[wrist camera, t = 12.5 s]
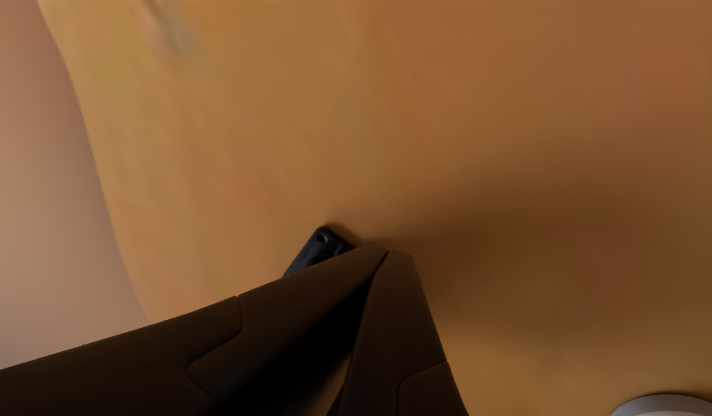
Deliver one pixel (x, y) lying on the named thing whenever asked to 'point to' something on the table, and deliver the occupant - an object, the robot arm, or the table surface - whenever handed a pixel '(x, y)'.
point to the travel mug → (665, 406)
